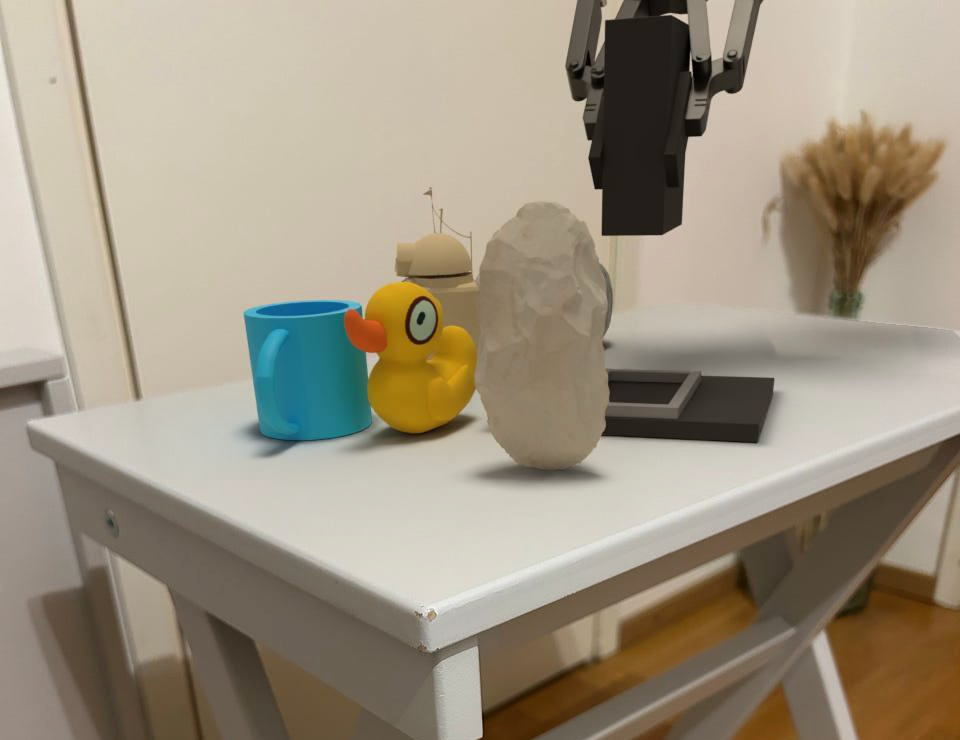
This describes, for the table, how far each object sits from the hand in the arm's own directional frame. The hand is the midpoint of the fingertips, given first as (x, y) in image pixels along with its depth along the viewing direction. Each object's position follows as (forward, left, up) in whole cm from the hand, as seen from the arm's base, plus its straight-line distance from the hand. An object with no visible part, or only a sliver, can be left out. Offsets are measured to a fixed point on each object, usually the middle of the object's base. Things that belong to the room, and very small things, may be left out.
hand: (634, 172), depth 63 cm
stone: (+3, +12, -16) cm, 20 cm away
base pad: (0, -3, -16) cm, 16 cm away
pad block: (0, -4, -4) cm, 5 cm away
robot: (+19, -11, -16) cm, 27 cm away
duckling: (+14, +5, -16) cm, 22 cm away
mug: (+22, +7, -16) cm, 28 cm away
